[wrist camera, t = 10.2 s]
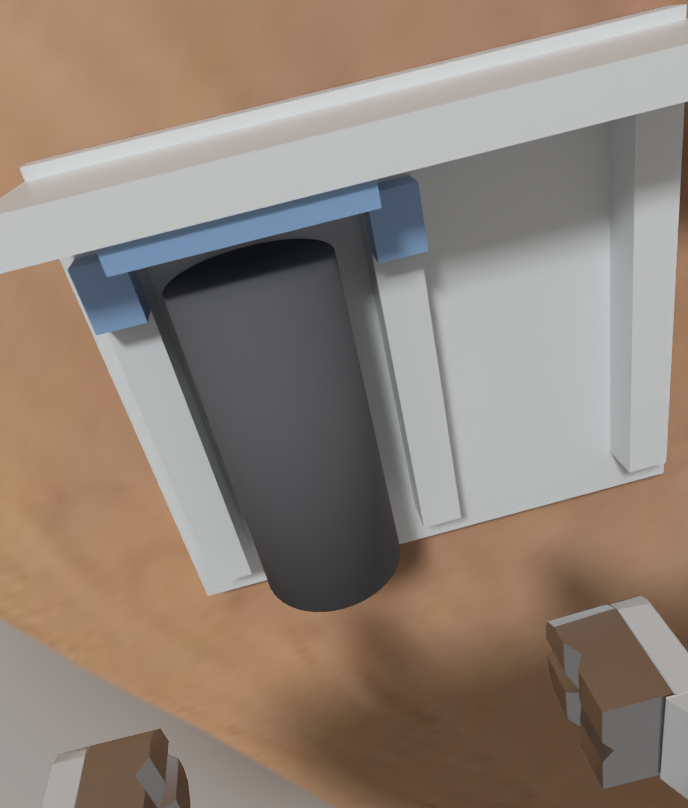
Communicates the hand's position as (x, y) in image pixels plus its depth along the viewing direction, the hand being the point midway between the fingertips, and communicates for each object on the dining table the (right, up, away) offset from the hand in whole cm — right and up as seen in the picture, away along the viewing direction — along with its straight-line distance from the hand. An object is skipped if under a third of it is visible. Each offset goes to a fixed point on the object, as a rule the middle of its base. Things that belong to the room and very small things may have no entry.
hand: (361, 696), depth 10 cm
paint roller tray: (+1, +6, +9) cm, 11 cm away
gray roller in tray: (-2, +5, +9) cm, 10 cm away
